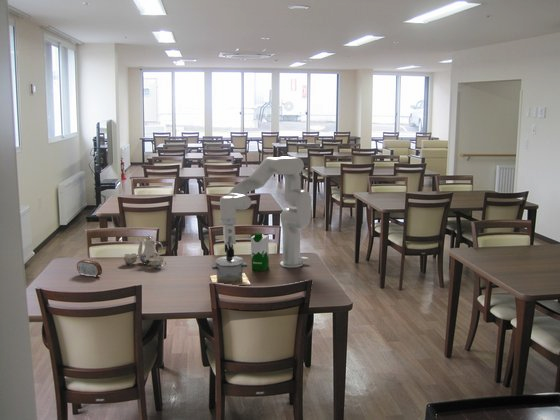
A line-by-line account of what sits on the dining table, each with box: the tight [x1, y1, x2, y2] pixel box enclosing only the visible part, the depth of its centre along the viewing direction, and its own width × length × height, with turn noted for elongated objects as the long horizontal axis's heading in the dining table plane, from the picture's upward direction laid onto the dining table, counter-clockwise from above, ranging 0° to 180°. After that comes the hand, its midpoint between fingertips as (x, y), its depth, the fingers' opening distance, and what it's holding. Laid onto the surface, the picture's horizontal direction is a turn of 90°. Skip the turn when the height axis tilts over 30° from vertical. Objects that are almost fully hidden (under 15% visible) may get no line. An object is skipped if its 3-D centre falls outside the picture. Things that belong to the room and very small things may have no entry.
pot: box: [209, 261, 251, 286], centre depth 291 cm, size 18×18×10 cm
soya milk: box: [250, 232, 270, 272], centre depth 311 cm, size 9×9×20 cm
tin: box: [76, 259, 103, 277], centre depth 302 cm, size 15×3×8 cm, turn 65°
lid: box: [215, 250, 245, 266], centre depth 290 cm, size 14×14×6 cm
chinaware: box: [121, 234, 167, 269], centre depth 321 cm, size 28×17×17 cm, turn 72°
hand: (229, 254), depth 290 cm, fingers open, 9 cm apart
